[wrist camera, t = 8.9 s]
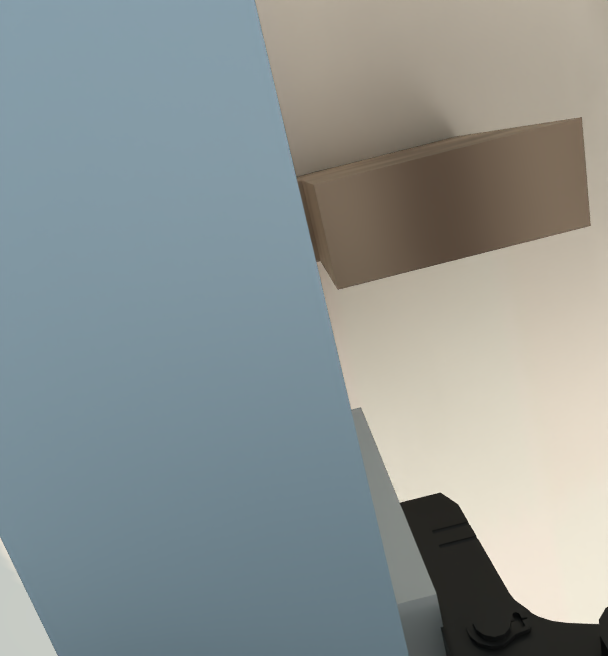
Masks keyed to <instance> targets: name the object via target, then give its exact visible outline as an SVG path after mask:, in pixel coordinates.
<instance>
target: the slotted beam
mask: <svg viewBox="0 0 608 656" xmlns="http://www.w3.org/2000/svg"><path fill="white" fill-rule="evenodd" d="M296 178H297V183H298V187H299V191H300V195H301V200H302V204H303V208H304V212H305V217H306V221H307V225H308V229H309V233H310V238H311V242H312V246H313V250H314V255H315V259H316V262H318V261H321V263H322V264H323V266H324V268H325V269H326V271H327V273H328V274H329V276H330V277H331V279H332V281H333V282H334V284H335V286H336V287H337V289H342V288H346V287H350V286H354V285H358V284H362V283H366V282H370V281H374V280H378V279H382V278H386V277H390V276H394V275H398V274H402V273H406V272H409V271H413V270H417V269H421V268H425V267H429V266H433V265H437V264H441V263H445V262H449V261H453V260H457V259H461V258H465V257H469V256H473V255H477V254H481V253H485V252H489V251H493V250H497V249H501V248H505V247H508V246H512V245H516V244H520V243H524V242H528V241H532V240H536V239H540V238H544V237H548V236H552V235H556V234H560V233H564V232H568V231H572V230H576V229H580V228H584V227H588V226H591V224H590V212H589V200H588V188H587V175H586V163H585V151H584V139H583V127H582V117H580V118H574V119H567V120H561V121H554V122H548V123H541V124H535V125H528V126H522V127H515V128H509V129H502V130H496V131H489V132H483V133H476V134H470V135H463V136H457V137H453V138H449V139H445V140H441V141H437V142H433V143H429V144H425V145H421V146H417V147H413V148H409V149H405V150H401V151H398V152H394V153H390V154H386V155H382V156H378V157H374V158H370V159H366V160H362V161H358V162H354V163H350V164H346V165H342V166H338V167H334V168H330V169H326V170H322V171H318V172H314V173H310V174H306V175H303V176H299V177H296Z"/></svg>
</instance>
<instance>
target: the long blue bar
mask: <svg viewBox="0 0 608 656" xmlns="http://www.w3.org/2000/svg"><path fill="white" fill-rule="evenodd" d="M0 538H1V540H2V542H3V544H4V546H5V548H6V550H7V552H8V554H9V556H10V558H11V560H12V562H13V564H14V566H15V568H16V570H17V573H18V575H19V577H20V579H21V581H22V583H23V585H24V587H25V589H26V591H27V593H28V595H29V597H30V599H31V601H32V603H33V605H34V607H35V610H36V612H37V613H38V616H39V618H40V620H41V622H42V624H43V626H44V628H45V630H46V632H47V634H48V636H49V638H50V640H51V642H52V645H53V646H54V649H55V651H56V653H57V655H58V656H409V654H408V650H407V645H406V641H405V637H404V633H403V628H402V624H401V620H400V616H399V611H398V607H397V603H396V599H395V594H394V590H393V586H392V582H391V577H390V573H389V569H388V565H387V560H386V556H385V552H384V548H383V543H382V539H381V535H380V531H379V526H378V522H377V518H376V514H375V509H374V505H373V501H372V497H371V492H370V488H369V484H368V480H367V476H366V471H365V467H364V463H363V459H362V454H361V450H360V446H359V442H358V437H357V433H356V429H355V425H354V420H353V416H352V412H351V408H350V403H349V399H348V395H347V391H346V386H345V382H344V378H343V374H342V369H341V365H340V361H339V357H338V352H337V348H336V344H335V340H334V335H333V331H332V327H331V323H330V318H329V314H328V310H327V306H326V301H325V297H324V293H323V289H322V284H321V280H320V276H319V272H318V267H317V263H316V259H315V255H314V250H313V246H312V242H311V238H310V233H309V229H308V225H307V221H306V217H305V212H304V208H303V204H302V200H301V195H300V191H299V187H298V183H297V178H296V174H295V170H294V166H293V161H292V157H291V153H290V149H289V144H288V140H287V136H286V132H285V127H284V123H283V119H282V115H281V110H280V106H279V102H278V98H277V93H276V89H275V85H274V81H273V76H272V72H271V68H270V64H269V59H268V55H267V51H266V47H265V42H264V38H263V34H262V30H261V25H260V21H259V17H258V13H257V8H256V4H255V0H0Z"/></svg>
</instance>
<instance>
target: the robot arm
mask: <svg viewBox="0 0 608 656" xmlns="http://www.w3.org/2000/svg"><path fill="white" fill-rule="evenodd" d="M351 412H352V416H353V420H354V425H355V429H356V433H357V437H358V442H359V446H360V450H361V454H362V459H363V463H364V467H365V471H366V476H367V480H368V484H369V488H370V492H371V497H372V501H373V505H374V509H375V514H376V518H377V522H378V526H379V531H380V535H381V539H382V543H383V548H384V552H385V556H386V560H387V565H388V569H389V573H390V577H391V582H392V586H393V590H394V594H395V599H396V603H397V607H398V611H399V616H400V620H401V624H402V628H403V633H404V637H405V641H406V645H407V650H408V654H409V656H608V607H607V608H605V610H604V612H603V614H602V616H601V617H600V619H599V624H579V623H563V622H556V621H551V620H547V619H544V618H541V617H538V616H536V615H534V614H533V613H531V612H530V611H529V610H528V609H526V608H525V607H524V606H522V605H521V604H519V603H518V602H517V601H515V600H514V599H513V597H512V596H511V595H510V593H509V592H508V590H507V588H506V587H505V585H504V583H503V581H502V580H501V578H500V576H499V574H498V573H497V571H496V569H495V568H494V566H493V564H492V562H491V561H490V559H489V557H488V555H487V554H486V552H485V550H484V548H483V547H482V545H481V543H480V542H479V540H478V539H477V537H476V535H475V533H474V531H473V529H472V528H471V526H470V525H469V523H468V521H467V519H466V517H465V515H464V514H463V512H462V510H461V509H460V507H459V505H458V504H457V503H455V502H454V501H452V500H451V499H449V498H448V497H446V496H445V495H443V494H442V493H437V494H433V495H429V496H425V497H421V498H417V499H413V500H409V501H405V502H401V503H399V500H398V498H397V495H396V493H395V490H394V488H393V485H392V483H391V480H390V478H389V475H388V473H387V470H386V468H385V466H384V463H383V461H382V458H381V456H380V453H379V451H378V448H377V446H376V443H375V441H374V438H373V436H372V433H371V431H370V429H369V426H368V424H367V421H366V419H365V416H364V414H363V411H362V409H361V408H357V409H353V410H351Z"/></svg>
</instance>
